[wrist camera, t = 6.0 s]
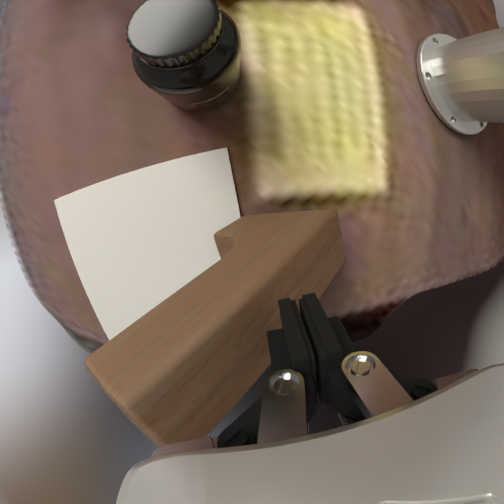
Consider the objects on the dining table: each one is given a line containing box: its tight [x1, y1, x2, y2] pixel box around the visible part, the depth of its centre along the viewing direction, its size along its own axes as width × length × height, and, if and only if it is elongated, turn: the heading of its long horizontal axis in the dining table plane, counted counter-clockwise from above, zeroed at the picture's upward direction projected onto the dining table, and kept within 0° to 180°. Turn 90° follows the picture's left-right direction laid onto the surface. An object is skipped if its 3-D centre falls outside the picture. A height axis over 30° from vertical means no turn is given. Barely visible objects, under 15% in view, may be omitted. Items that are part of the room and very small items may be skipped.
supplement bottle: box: [126, 0, 241, 112], centre depth 14 cm, size 7×7×12 cm
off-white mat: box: [54, 147, 241, 340], centre depth 26 cm, size 19×18×1 cm
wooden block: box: [85, 209, 345, 447], centre depth 16 cm, size 9×4×18 cm
